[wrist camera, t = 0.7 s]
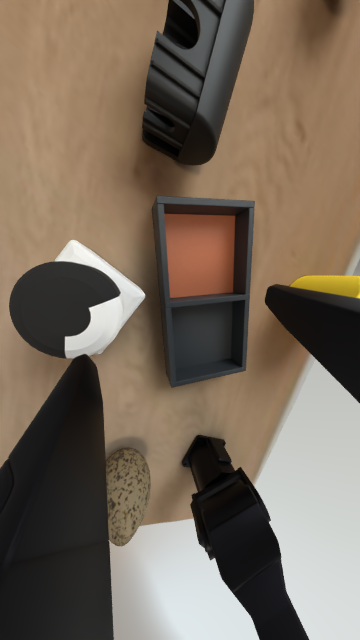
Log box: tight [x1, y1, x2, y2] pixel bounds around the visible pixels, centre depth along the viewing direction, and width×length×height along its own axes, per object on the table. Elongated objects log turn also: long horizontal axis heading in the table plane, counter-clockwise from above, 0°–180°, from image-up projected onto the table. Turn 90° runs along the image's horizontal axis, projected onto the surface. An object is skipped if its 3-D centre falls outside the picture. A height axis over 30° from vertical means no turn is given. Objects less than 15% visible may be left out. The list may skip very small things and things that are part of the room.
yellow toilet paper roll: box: [290, 276, 360, 298], centre depth 26 cm, size 10×10×9 cm
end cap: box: [142, 0, 254, 166], centre depth 16 cm, size 10×7×7 cm
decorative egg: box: [106, 448, 151, 546], centre depth 23 cm, size 7×7×10 cm
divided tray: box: [152, 196, 255, 387], centre depth 23 cm, size 22×11×4 cm, turn 3°
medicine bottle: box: [9, 240, 145, 359], centre depth 15 cm, size 7×7×12 cm
